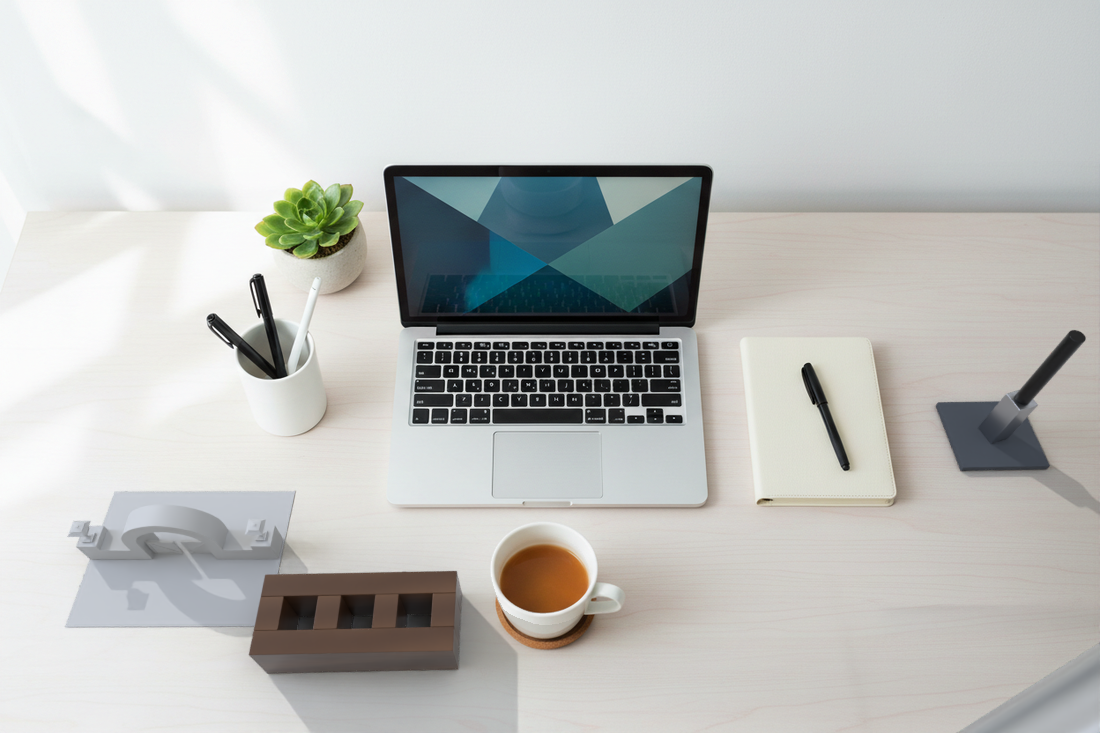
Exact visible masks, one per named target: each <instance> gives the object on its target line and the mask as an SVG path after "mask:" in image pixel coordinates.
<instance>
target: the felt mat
mask: <svg viewBox="0 0 1100 733" xmlns="http://www.w3.org/2000/svg"><path fill="white" fill-rule="evenodd" d="M1000 401H1001V400H996V401H995V400H994V401H993V400H992V401H991V400H988V401H986V400H985V401H940V402H939V401H937V403H936V404H935V409H936V411H937V414H938V417H939V419H940V421H941V423H942V427H943V428H944V431H945V435H946V437H947V439H948V442H949V444H950V447H951V450H952V453H953V455H954V457H955V460H956V464H957V465H958V468H959V470H960V471H961V472H970V471H971V472H974V471H976V472H978V471H979V472H980V471H982V472H983V471H1023V470H1024V471H1029V470H1030V471H1031V470H1032V471H1033V470H1034V471H1035V470H1037V471H1039V470H1048V468H1050V467H1051V465H1050V463H1049V461H1048V459H1047V456H1046V454H1045V452H1044V450H1043V448H1042V446H1041V443H1040V442H1039V439H1038V437H1037V434H1036V433H1035V430H1034V428H1033V426H1032V424H1031V422H1030V419H1029V418H1028V417H1027V418H1026V419H1025V420H1024V421H1023V422H1022V423H1021V424H1020V426H1019V427H1018V428H1017V429H1016V430H1015V431H1014V432H1013V433H1012V434H1011V435H1010V437H1009V438H1008V439H1004V440H1001V441H998V442H995V443H992V444H991V443H990V442H989V441H988V440H987V438H986V437H985V436H984V434H983V433H982V432H981V431H980V429H979V428H978V427H979V426H980V424H981V423H982V422H983V421H984V420H985V418H986V417H987V416H988V415H989V414H990V412H991V411H992V410H993V409H994V408H995V407H996V405H997V404H998V403H999V402H1000Z"/></svg>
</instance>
